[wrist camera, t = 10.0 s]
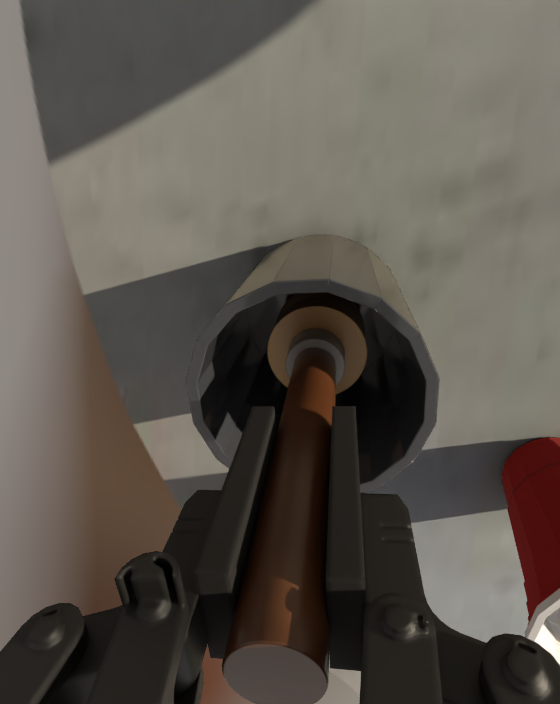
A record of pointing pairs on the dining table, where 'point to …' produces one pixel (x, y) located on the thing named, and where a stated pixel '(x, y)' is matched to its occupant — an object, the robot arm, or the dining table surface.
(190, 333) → the dining table surface
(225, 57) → the dining table surface
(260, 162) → the dining table surface
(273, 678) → the brush
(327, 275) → the grey cylindrical container
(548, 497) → the plastic cup
